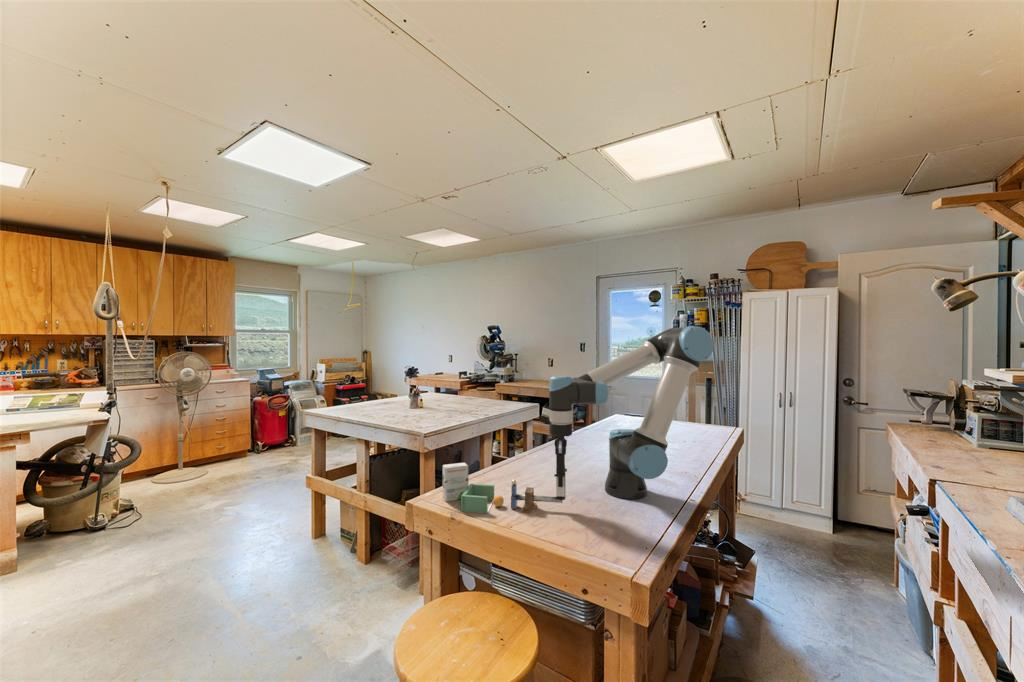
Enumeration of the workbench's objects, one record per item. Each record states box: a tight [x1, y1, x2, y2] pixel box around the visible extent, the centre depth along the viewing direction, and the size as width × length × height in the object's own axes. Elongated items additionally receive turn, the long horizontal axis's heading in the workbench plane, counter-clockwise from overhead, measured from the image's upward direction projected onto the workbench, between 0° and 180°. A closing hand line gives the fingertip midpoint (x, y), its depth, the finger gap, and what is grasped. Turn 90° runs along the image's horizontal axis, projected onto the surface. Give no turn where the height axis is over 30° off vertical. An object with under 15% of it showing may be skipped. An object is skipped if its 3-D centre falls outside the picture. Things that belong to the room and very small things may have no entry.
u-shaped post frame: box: [510, 466, 566, 509], centre depth 131 cm, size 18×3×14 cm, turn 81°
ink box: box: [442, 462, 469, 503], centre depth 140 cm, size 9×5×12 cm, turn 112°
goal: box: [460, 483, 495, 514], centre depth 134 cm, size 9×12×5 cm
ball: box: [493, 495, 505, 508], centre depth 133 cm, size 4×4×4 cm
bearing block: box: [521, 486, 537, 514], centre depth 131 cm, size 4×7×6 cm, turn 171°
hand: (560, 493), depth 129 cm, fingers closed on u-shaped post frame, 3 cm apart
